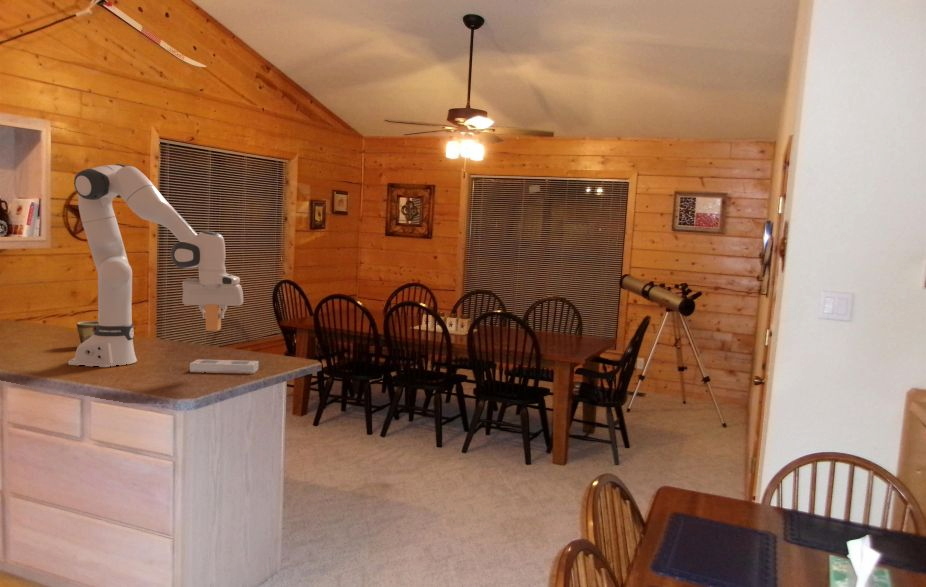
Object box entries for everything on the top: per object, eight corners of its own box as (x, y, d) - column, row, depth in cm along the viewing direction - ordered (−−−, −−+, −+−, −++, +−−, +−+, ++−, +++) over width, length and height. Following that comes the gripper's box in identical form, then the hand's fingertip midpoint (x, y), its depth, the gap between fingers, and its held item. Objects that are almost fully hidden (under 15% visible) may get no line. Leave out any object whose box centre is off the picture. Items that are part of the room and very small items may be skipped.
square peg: (205, 330, 247) (205, 304, 246) (209, 328, 251) (209, 303, 250) (217, 330, 247) (217, 305, 246) (221, 328, 251) (220, 303, 250)
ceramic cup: (100, 349, 286) (99, 324, 285) (73, 349, 285) (72, 324, 284) (110, 343, 299) (110, 320, 298) (85, 343, 298) (84, 319, 297)
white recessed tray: (189, 372, 252) (189, 363, 252) (197, 367, 260) (197, 359, 260) (253, 373, 253) (253, 365, 253) (258, 369, 261) (258, 360, 261)
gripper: (178, 278, 244) (179, 319, 245) (239, 279, 244) (240, 319, 246) (185, 277, 250) (186, 316, 251) (244, 278, 251) (245, 317, 252)
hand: (213, 318), depth 249 cm, fingers closed on square peg, 4 cm apart
